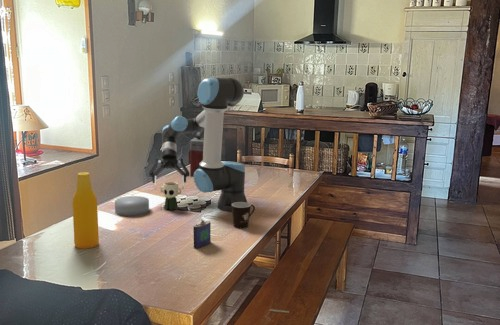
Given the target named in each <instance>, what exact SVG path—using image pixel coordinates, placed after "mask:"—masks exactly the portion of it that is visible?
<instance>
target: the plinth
mask: <svg viewBox="0 0 500 325" xmlns="http://www.w3.org/2000/svg"><path fill="white" fill-rule="evenodd" d="M149 211H150V200H149V198H147V197H145V196H137V195H132V196H123V197H120V198H116V199H115V200H114V213H115V214H117V215H119V216H123V217H135V216H141V215H144V214H145V215H146V214H147V213H149Z"/></svg>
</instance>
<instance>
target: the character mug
mask: <svg viewBox="0 0 500 325" xmlns="http://www.w3.org/2000/svg"><path fill="white" fill-rule="evenodd" d="M160 193H163V196H164V197H165V198H164V199H165V201H164V210H168V209H169V210H173V211H174V210H176V209H178V200H177V197H178V196H179V195H181V194H182V188H181V187H179V183H178V182H176V181H167V182H164V183H163V185H161V186H160Z"/></svg>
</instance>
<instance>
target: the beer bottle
mask: <svg viewBox="0 0 500 325" xmlns="http://www.w3.org/2000/svg"><path fill="white" fill-rule="evenodd" d="M90 176H91V175H90V173H89V172H86V171H82V172H78V173H77V178H76V180H77V181H76V190H75V192H74V194H73V197H72V201H71V203H72V204H71V206H72V221H73V223H72V224H73V242H74V243H73V244H74V246H75V248H77V249H81V250H83V249H86V250H88V249H92V248H94V247H97V246H98V245H99V242H100V236H99V218H98V217H99V214H98V200H97V196H96V194H95V191H94V190H93V188H92V183H91V177H90Z"/></svg>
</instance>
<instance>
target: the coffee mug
mask: <svg viewBox="0 0 500 325" xmlns="http://www.w3.org/2000/svg"><path fill="white" fill-rule="evenodd" d="M251 207H253V209H252V211H251ZM255 209H256V208H255V205H254V204H251V203H249V202H247V203H246V202H235V203H232V211H231V214H232V221H233V222H232V223H233V225H232V226H233V227H234V228H236V229H246V228H248V226H249V220H250V217H251V216H252V215H253V213H255Z"/></svg>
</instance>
